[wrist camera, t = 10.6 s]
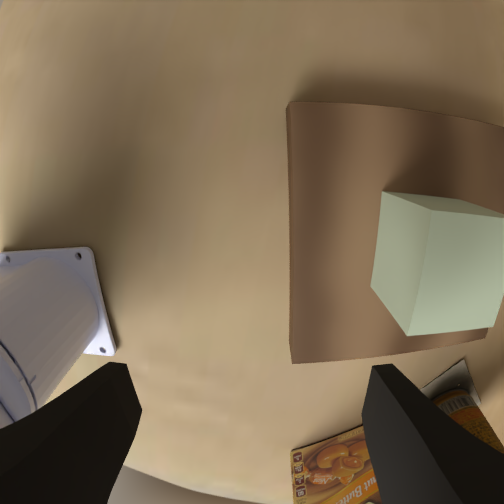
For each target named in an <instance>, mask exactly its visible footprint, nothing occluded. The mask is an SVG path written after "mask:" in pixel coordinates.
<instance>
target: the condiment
mask: <svg viewBox="0 0 504 504" xmlns="http://www.w3.org/2000/svg"><path fill="white" fill-rule="evenodd" d="M458 384H460V385H459V386H458ZM420 391H421V392H422V393H423V394H425V395H426V396H427V397H428V398H429V399H430V400H431V401H432V402H433V403H434V404H435V405H437V406H438V407H439V408H440V409H441V410H442V411H443V412H445V413H446V414H447V415H448V416H449V417H451V418H452V419H453V420H454V421H456V422H457V423H458V424H459V425H461V426H462V427H463V428H465V429H466V430H467V431H469V432H470V433H471V434H473V435H474V436H476V437H477V438H479V439H480V440H482V441H483V442H485V443H486V444H488V445H490V446H491V447H493V448H494V449H496V450H498V451H500V452H501V453H503V454H504V447H503V445H502V443H501V441H500V440H499V439H498V437H497V435H496V434H495V432H494V431H493V429H492V427H491V426H490V424H489V423H488V421H487V420H486V418H485V417H484V415H483V414H482V412H481V410H480V409H479V407H478V405H479V404H481V402H480V399H479V397H478V394H477V392H476V389H475V387H474V384H473V381H472V379H471V376H470V374H469V371H468V369H467V366H466V364H465V362H464V359H463V360H462V361H460V362H459V363H458V364H457V365H455V366H453V367H452V368H450V369H449V370H448V371H446V372H445V373H444V374H442V375H441V376H439V377H438V378H436V379H435V380H434V381H432V382H431V383H429V384H428V385H427V386H425V387H424V388H421V389H420Z"/></svg>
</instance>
